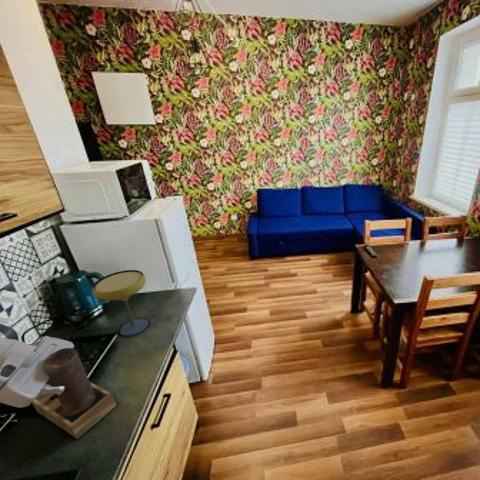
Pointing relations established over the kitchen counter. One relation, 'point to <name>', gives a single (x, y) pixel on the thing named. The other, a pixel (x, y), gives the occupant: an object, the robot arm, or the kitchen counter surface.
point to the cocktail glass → (122, 294)
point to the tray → (81, 420)
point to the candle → (69, 380)
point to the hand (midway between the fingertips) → (71, 378)
